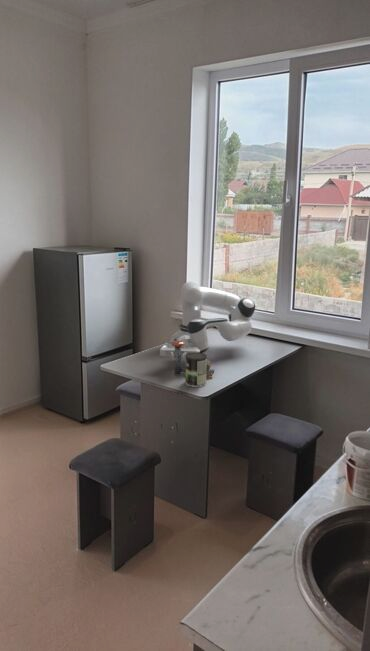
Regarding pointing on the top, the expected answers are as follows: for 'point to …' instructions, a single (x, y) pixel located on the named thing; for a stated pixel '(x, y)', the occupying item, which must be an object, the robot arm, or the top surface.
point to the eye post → (208, 375)
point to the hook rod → (178, 358)
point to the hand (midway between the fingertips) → (177, 356)
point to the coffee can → (196, 369)
